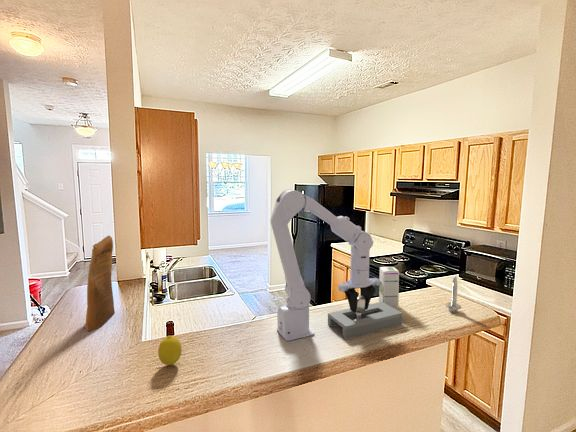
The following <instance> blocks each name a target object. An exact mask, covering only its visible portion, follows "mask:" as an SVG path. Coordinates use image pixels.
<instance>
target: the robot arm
mask: <svg viewBox="0 0 576 432" xmlns="http://www.w3.org/2000/svg"><path fill="white" fill-rule="evenodd" d="M300 212H304V213H305V212H306V213H311V214H313V215H314V216H316V217H318V218H319V219H320V220H322V221H324V222H325V223H327V224H328V225H329V226H330V230H331V232H332V233H334V234H335V235H336V236H338V237H340V238H341V239H343V240H344V241H345V242H347V243H348V244H349V245H350V275H349V276H350V277H349V280H347V281H344V282H342V283H339V284H338V291H339V292H341V293H344V294H345V296H346V298H347V301H348V305H349V309H350V310H351V311H353V312H356V307H357V298H358V295H359V294H360V296H364V297H365V309H366V310H367V309H368V306H369V304H370V302H371V299H372V297H373V295H374V294H375V293H376V288H375V287H374V286H379V284H380V280H379V278H377V277H370V250H371V249H372V247H373V245H374V240H373V238H372V236H371V234H370V233H368V232H367V231H365V230H362V227H361V226H360V225H356V224H354V223H353V222H352V221H350V217H348V216H343V215H339V216H336V215H334V214H333V213H332V212H331V211H330V210H328V209H327V208H326V207H324V206H323V205H321V203H319V202H317V201H316V200H315V199H313V198H312V197H311V196H309V195H306V194H303V193H302V192H300V191H299V190H295V189H286V190H283V191H282V192H281V193H280V194H279V195H278V197H277V198H276V199H275V203H274V207H273V211H272V213H271V217H270V225H271V230H272V231H273V236H274V240H275V243H276V244H275V245H276V248H277V251H278V254H279V259H280V263H281V266H282V270H283V273H284V274H283V275H284V279H285V288H284V291H285V294H286V296H287V299H286V301H285V304H284V305H282V306H279V307H278V308H277V314H276V315H277V319H276V320H277V327H276V330H277V332H278V333H279V334H280V335H281V336H282V338H283V339H284V340H285V341H287V342H289V341H293V340H297V339H302V338H306V337H310V336H314V335H315V332H314V331H313V330H312V329H311V328H310V302H311V298H312V297H311V293H310V292H309V290H308V289H307V288H306V286H305V282H304V280H303V277H302V275H301V272H300V267H299V264H298V263H299V262H298V260H297V256H296V253H295V248H294V245H293V240H292V236H291V232H290V229H289V223H290V222H291V220H292V219H293V217H294V216H295V215H297V214H298V213H300ZM356 289H360V293H359V292H358V291H357V290H356Z"/></svg>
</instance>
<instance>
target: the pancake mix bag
mask: <svg viewBox="0 0 576 432" xmlns="http://www.w3.org/2000/svg"><path fill="white" fill-rule="evenodd" d="M113 250H114V242H113V237H112V236H110V235H107V236H105V237H103V238H102V239H101V240H100V241H99V242H97V243H95V244H93V245H92V249H91V257H90V263H89V267H88V272H87V286H86V289H87V290H86V305H87V307H86V314H85V330H87V332H91V331H94V330H97V329H100V328H101V327H103V326H104V325H105V323H106V322H107V321H109V319H110V318H111V317H112V316H113V315H114V314H115V303H114V295H113V294H114V293H113V283H112V267H113Z"/></svg>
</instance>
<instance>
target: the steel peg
mask: <svg viewBox="0 0 576 432" xmlns="http://www.w3.org/2000/svg"><path fill="white" fill-rule="evenodd" d="M364 312H365V297H364V296H361V294H360V295H358V298H357V307H356V317H355V318H353V319H352V321H355V320H359V319H363V318H361V313H364Z"/></svg>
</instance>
